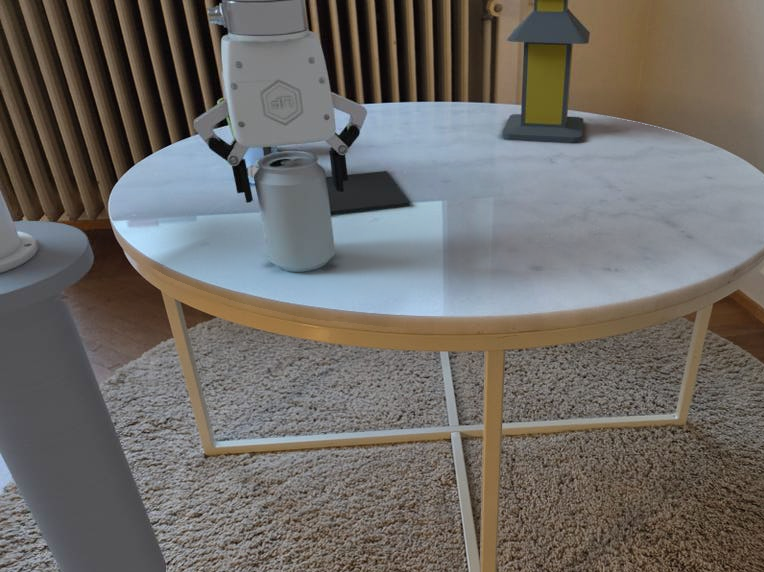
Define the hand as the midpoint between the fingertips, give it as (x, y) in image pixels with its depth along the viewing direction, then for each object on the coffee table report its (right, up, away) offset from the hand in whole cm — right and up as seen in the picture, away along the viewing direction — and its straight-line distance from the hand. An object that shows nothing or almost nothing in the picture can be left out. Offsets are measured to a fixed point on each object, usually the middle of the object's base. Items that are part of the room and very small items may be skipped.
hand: (294, 193), depth 74 cm
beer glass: (-12, +9, +28) cm, 32 cm away
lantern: (+32, +24, +51) cm, 65 cm away
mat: (+2, +5, +23) cm, 23 cm away
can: (0, -7, +5) cm, 8 cm away
